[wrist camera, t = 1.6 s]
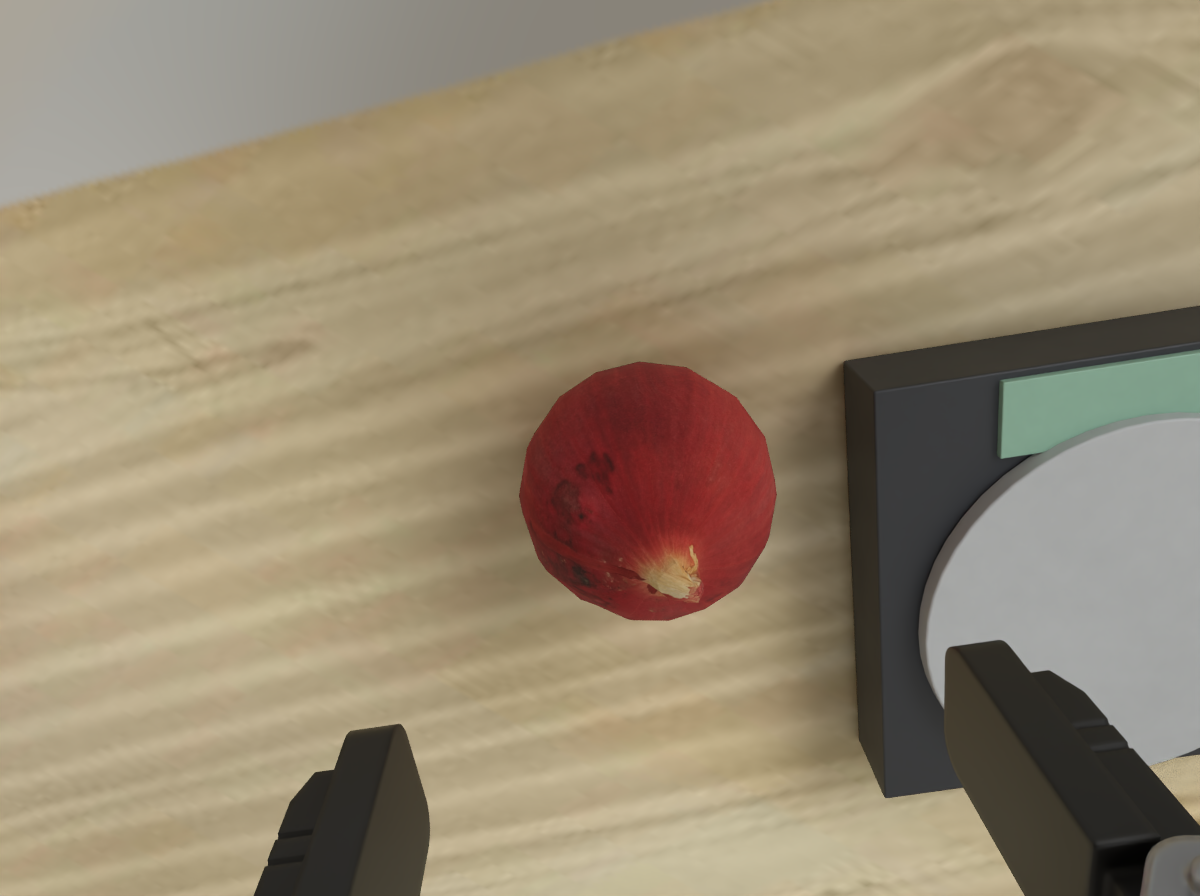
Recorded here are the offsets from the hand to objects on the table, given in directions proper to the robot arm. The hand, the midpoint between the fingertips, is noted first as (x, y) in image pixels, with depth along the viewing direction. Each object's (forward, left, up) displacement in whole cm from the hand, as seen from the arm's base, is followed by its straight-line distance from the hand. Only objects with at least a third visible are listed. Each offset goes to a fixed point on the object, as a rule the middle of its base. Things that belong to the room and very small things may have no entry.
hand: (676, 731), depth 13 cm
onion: (0, 0, -12) cm, 12 cm away
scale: (-3, +13, -12) cm, 18 cm away
